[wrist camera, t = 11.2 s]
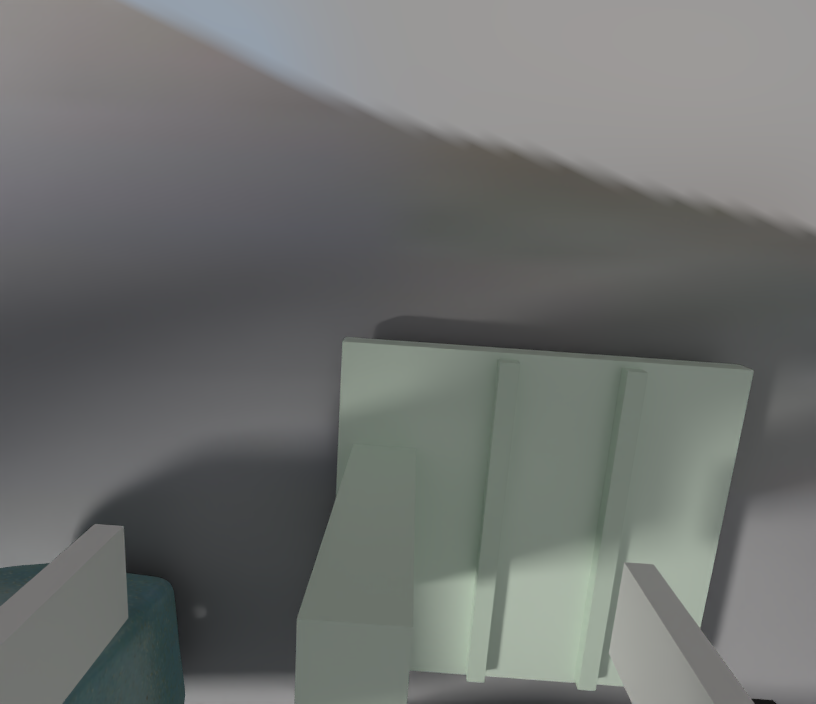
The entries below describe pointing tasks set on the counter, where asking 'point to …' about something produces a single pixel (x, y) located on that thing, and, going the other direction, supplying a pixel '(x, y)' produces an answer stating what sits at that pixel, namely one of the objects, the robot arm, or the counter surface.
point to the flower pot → (127, 645)
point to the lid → (508, 511)
